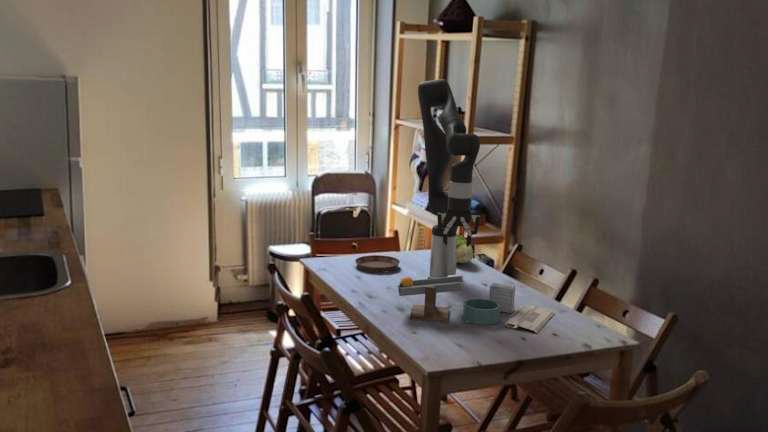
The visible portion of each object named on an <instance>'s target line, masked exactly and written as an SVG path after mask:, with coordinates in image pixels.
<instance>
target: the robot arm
mask: <svg viewBox="0 0 768 432" xmlns="http://www.w3.org/2000/svg"><path fill="white" fill-rule="evenodd" d="M417 97H418V103H419V104H418V105H419V108H420V114H421V121H422V127H423V129H422V130H423V141H424V152H425V161H426V167H427V168H426V170H427V181H428V185H427V187H428V188H427V189H428V194H427V195H428V197H427V198H428V199H427V201H428V208H429V211H430V213H431V214H432V215H434V216H436V217H437V224H435V225H433V226H432V229H431V242H430V243H431V244H430V246H431V247H430V262H429V277H437V278H443V277H448V275H457V274H456V273H457V263H456V262H457V254H455V248H456V234H458V233H457V232H458V229H459V227H460V228H463V227H464V229H465V231H466V233H467V234H466V236H467V237H466V240H467V244H466V247H468V246H469V245H471V244H472V237H473V235H477V234H478V231H479V224H480V219H481V217H480V216H481V215H479V214H477V215H475V214H472V210H471V209H472V199H473V198H472V196H473V170H474V166H475V163H476V160H477V157H478V154H479V152H480V148H481V147H480V146H481V141H480V138H479V137H478V135H477V134H476V133H467V127H466V125H465V123H464V120H463V119H462V117H461V115H460V113H459V110H458V107H457V104H456V101H455V98H454V94H453V91H452V89H451V86H450V83H449V81H447V79H445V78H440V79H439V78H438V79H433V80H426V81H422V82H420V83H419V84H418V87H417ZM442 106H444V108H443V110H442V112H441V114H440V119H439V120H440V121H439V122H440V126H441V127H440V126H439V125H438V123H437V121H436V120H435V118H434V117H433V114H432V110H431V108H436V107H442ZM452 156H456V157H458V156H464V158H463V159H462V160H461V161H458V162H455V163H452V164H451V165H450V163H451V161H452ZM449 166H451V167H450V173H449V175H450V176H449V177H450V178H449V185H448V191H447V192H446V191H444V190H443V177H444V175H445V173H446V171H447V170H448V168H449ZM471 219H472V222H473V223H474V226H473V230H471V227H470V225H469V222H470V220H471Z"/></svg>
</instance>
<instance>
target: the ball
mask: <svg viewBox="0 0 768 432" xmlns="http://www.w3.org/2000/svg"><path fill="white" fill-rule="evenodd" d="M413 280H414V279H413V278H411V277H410V276H404V277H403V278H402V280H401V286H402V287H403V288H406V287H412V286H413Z"/></svg>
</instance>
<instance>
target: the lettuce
mask: <svg viewBox="0 0 768 432" xmlns="http://www.w3.org/2000/svg"><path fill="white" fill-rule="evenodd" d="M466 244H467V238H464V236H462V235H460V234H458V233H456V248H455V254H457V262H456V264H467V263H470V262H471V261H472V260H473V258H474V249H473V247H472V245H471V244H470V245H469V246H468V247H466Z"/></svg>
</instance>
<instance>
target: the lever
mask: <svg viewBox="0 0 768 432" xmlns="http://www.w3.org/2000/svg"><path fill="white" fill-rule="evenodd" d="M402 279H403V278H402V277H401V278H400V279H399V282H398V285H397V289H398V290H397V291H398V296H399V297H405V296H416V295H425V287H426V286H434V287H435V293H436V294H437V293H438V294H439V293H449V292H461V291H463V283H464V275H463V273H462V274H456V275H448V277H443V278H432V279H428V278H425V279H424V278H423V279H412V280H413V286H412V287H406V288H403V287H402V286H401V280H402Z"/></svg>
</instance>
